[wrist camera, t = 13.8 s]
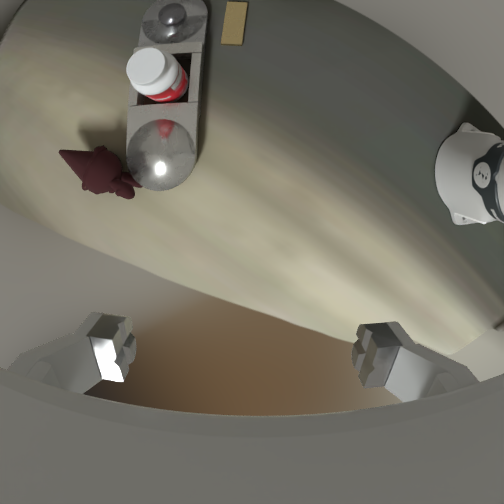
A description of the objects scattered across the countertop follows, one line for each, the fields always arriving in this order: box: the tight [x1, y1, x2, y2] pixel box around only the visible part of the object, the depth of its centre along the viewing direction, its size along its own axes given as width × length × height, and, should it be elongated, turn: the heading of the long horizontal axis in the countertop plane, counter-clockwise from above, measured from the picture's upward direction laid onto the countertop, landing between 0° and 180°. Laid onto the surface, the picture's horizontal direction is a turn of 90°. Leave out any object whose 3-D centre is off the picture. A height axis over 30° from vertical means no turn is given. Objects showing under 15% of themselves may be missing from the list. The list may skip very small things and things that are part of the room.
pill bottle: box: [127, 48, 189, 104], centre depth 31 cm, size 6×6×11 cm
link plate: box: [221, 2, 247, 46], centre depth 33 cm, size 8×3×1 cm, turn 174°
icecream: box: [59, 145, 143, 199], centre depth 37 cm, size 7×7×15 cm
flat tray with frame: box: [126, 0, 208, 191], centre depth 35 cm, size 32×10×3 cm, turn 177°
